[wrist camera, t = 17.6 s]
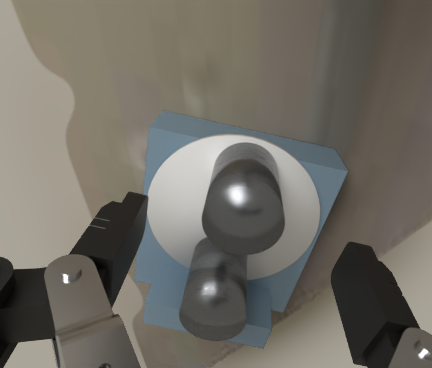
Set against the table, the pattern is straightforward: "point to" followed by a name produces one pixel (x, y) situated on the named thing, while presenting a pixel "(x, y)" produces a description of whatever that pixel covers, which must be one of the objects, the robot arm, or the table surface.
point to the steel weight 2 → (215, 293)
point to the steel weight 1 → (244, 201)
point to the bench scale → (194, 204)
